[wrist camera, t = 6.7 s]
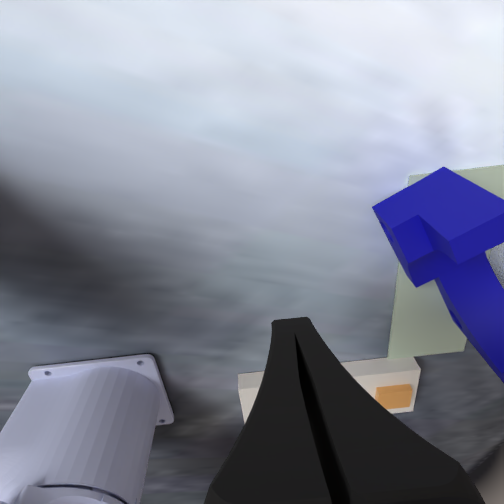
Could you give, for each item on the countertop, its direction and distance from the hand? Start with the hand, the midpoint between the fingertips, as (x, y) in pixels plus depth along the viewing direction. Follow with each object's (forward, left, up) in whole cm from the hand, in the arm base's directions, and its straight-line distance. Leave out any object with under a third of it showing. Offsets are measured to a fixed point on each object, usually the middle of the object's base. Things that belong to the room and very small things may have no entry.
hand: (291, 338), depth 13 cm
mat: (+11, -5, -10) cm, 16 cm away
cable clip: (+11, -4, -10) cm, 15 cm away
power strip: (+3, -15, -10) cm, 19 cm away
